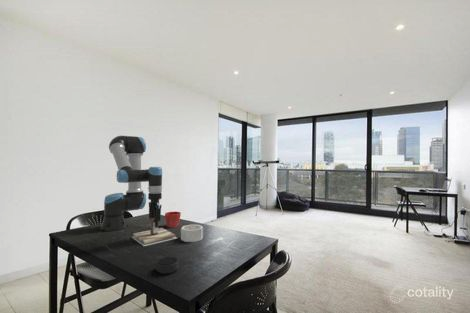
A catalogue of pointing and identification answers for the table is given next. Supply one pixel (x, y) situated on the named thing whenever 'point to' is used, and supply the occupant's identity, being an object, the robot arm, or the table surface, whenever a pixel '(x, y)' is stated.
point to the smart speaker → (167, 265)
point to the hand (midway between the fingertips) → (154, 231)
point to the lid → (153, 235)
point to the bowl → (191, 233)
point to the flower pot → (172, 219)
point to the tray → (152, 242)
